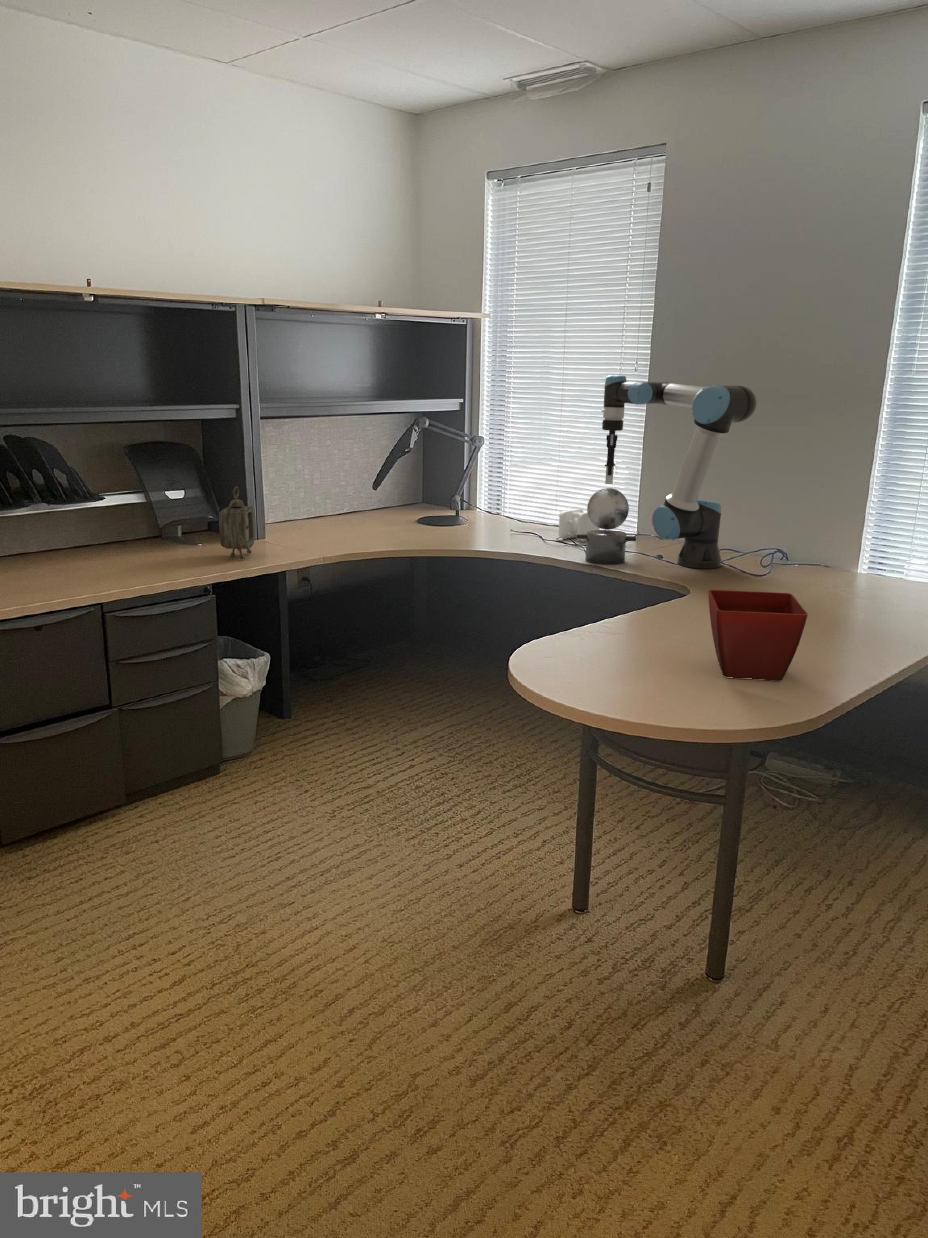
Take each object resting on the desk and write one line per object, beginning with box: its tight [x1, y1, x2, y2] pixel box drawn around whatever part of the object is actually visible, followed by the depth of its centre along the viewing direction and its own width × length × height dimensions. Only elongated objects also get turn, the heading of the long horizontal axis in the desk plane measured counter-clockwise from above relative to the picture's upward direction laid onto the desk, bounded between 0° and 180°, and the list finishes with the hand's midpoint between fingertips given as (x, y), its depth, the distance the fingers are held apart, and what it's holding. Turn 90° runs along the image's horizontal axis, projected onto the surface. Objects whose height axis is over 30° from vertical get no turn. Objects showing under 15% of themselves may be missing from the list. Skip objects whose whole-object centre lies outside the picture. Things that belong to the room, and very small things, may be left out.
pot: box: [576, 529, 637, 566], centre depth 323 cm, size 19×14×10 cm
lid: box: [586, 487, 630, 530], centre depth 329 cm, size 15×15×3 cm
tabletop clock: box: [218, 486, 255, 560], centre depth 316 cm, size 14×9×25 cm, turn 0°
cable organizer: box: [558, 508, 601, 543], centre depth 363 cm, size 15×11×12 cm
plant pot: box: [708, 589, 809, 682], centre depth 205 cm, size 19×19×17 cm
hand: (608, 483), depth 335 cm, fingers closed
